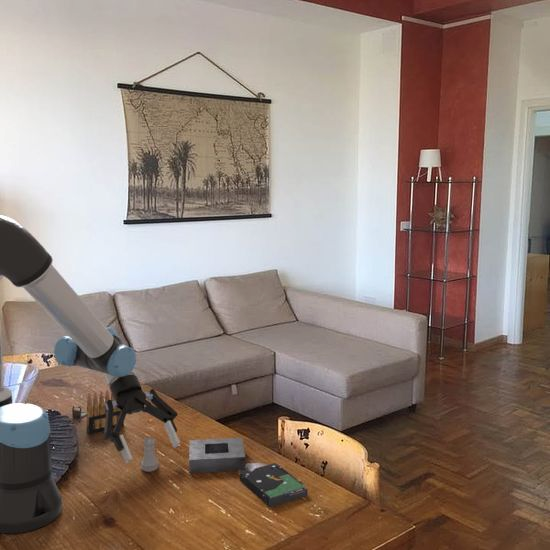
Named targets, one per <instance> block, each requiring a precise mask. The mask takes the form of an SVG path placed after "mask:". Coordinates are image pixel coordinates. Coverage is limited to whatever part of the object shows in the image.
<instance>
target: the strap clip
mask: <svg viewBox="0 0 550 550" xmlns="http://www.w3.org/2000/svg"><path fill="white" fill-rule="evenodd" d="M75 408H79V410H77V409H75ZM71 411H72V412H71V413H72V416H71V417H72V418H70V419H71V421H72V422H71V423H74V424H76V423H78V422H79V421H80V420H81V419H84V418H85V417H87V411H83V410H82V407H81V406H78V405H73V406H72V409H71Z"/></svg>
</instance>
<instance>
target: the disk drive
mask: <svg viewBox="0 0 550 550" xmlns="http://www.w3.org/2000/svg"><path fill="white" fill-rule="evenodd" d="M239 481H240V482H241V483H242V484H243V485H244V486H245V487H246V488H248V489H249V490H250V491H251V493H253V494H255V496H256V497H258V499H260V501H262V502H263V503H264V504H266V506H267V507H269V508H274V507H276V506H279V505H283V504H287V503H289V502H292V501H293V502H294V501H296V500H299V499H302V498H306V497H308V492H309V491H308V489H307V488H306V485H304V483H303V482H301V481H300V480H299V479H297V478H296V477H295V476H293V475H292V474H291V473H290V472H288V471H287V470H286V469H284V468H283V467H282V466H280V465H279V464H277V463H276V462H275V463H270V464H265V465H263V466H257V467H255V468H254V469H253V470H249V469H247V470H246V469H245V470H241V471H240V472H239Z"/></svg>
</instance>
